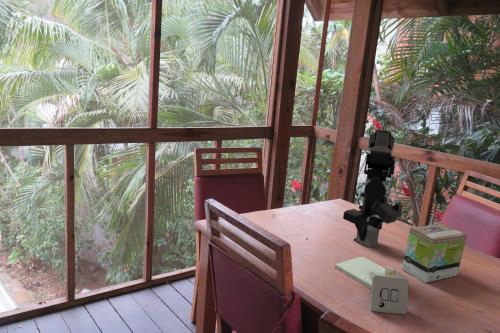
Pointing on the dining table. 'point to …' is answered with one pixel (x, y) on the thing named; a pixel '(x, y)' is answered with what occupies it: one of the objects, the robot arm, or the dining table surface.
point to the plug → (369, 237)
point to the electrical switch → (389, 294)
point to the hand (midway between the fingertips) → (366, 239)
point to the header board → (365, 270)
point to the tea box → (433, 252)
